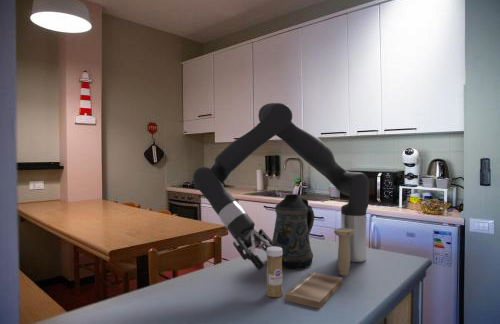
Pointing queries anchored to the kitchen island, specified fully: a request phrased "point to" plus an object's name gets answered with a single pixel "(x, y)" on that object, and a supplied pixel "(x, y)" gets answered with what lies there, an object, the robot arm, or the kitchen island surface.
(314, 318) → the kitchen island surface
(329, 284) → the walnut board
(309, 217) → the beer stein
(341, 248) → the handle
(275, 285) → the sprinkles bottle
